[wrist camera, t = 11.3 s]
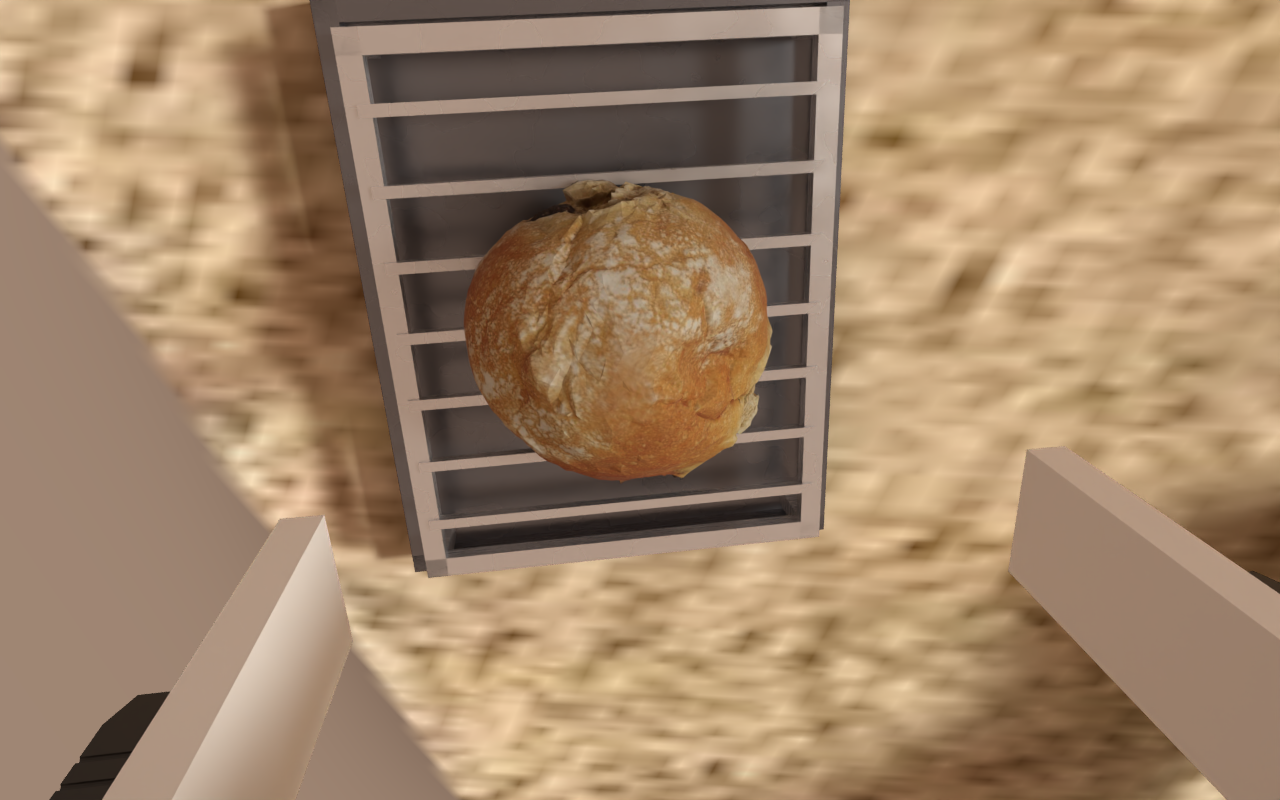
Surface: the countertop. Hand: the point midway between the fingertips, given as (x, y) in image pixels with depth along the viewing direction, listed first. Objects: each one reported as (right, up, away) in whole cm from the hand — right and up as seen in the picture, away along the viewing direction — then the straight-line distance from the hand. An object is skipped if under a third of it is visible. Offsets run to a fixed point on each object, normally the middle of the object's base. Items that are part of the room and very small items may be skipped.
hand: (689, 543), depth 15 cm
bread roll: (-2, +5, +13) cm, 15 cm away
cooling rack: (-2, +7, +17) cm, 18 cm away
